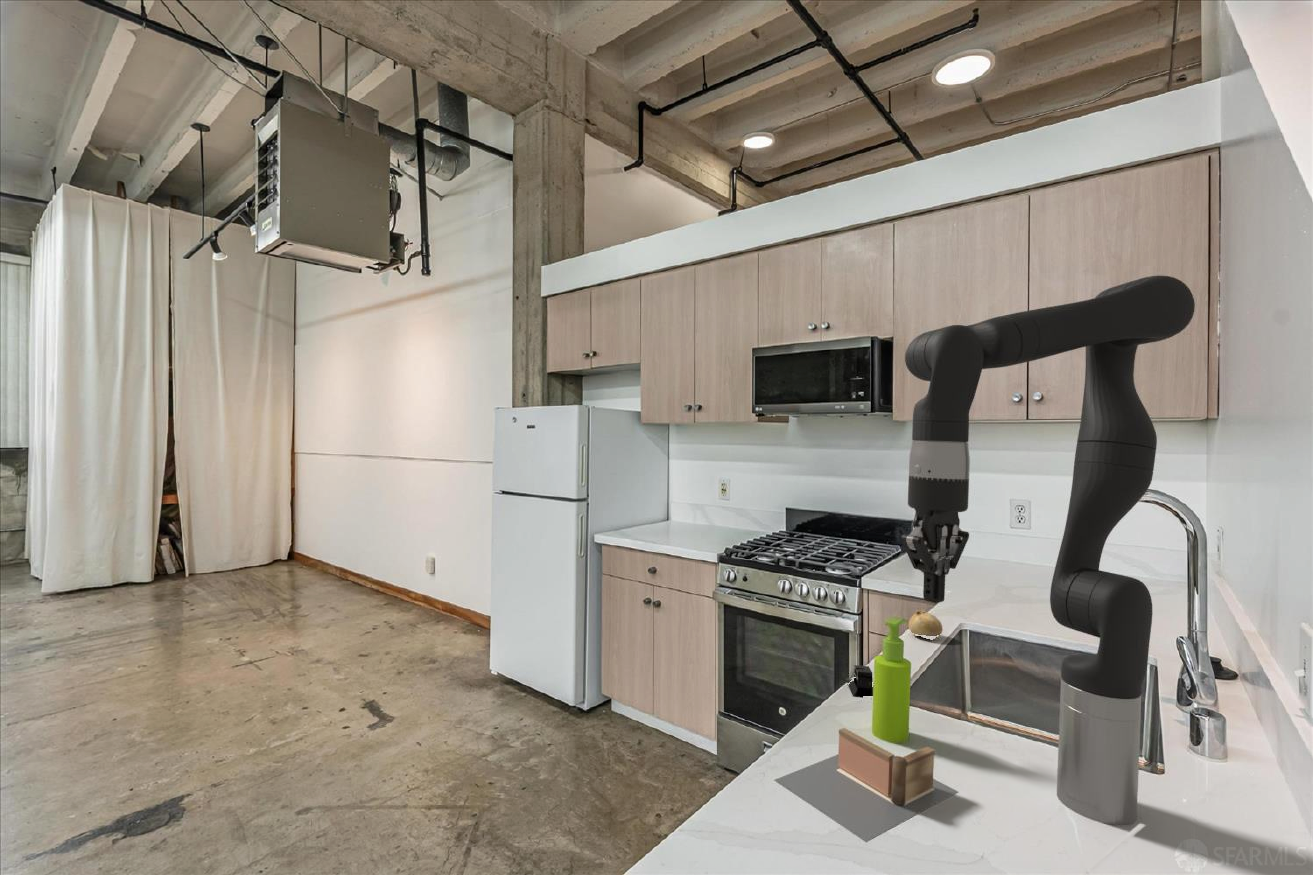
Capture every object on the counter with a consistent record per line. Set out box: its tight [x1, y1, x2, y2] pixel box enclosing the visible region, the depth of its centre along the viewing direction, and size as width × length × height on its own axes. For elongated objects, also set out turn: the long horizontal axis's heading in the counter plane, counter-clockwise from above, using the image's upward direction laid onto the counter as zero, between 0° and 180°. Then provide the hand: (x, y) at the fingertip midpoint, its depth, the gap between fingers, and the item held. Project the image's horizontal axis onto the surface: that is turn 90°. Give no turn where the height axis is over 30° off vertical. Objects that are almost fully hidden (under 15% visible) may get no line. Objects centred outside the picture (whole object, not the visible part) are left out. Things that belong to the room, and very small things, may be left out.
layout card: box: [773, 753, 959, 843], centre depth 90 cm, size 21×16×1 cm
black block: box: [844, 664, 874, 699], centre depth 126 cm, size 12×7×5 cm, turn 172°
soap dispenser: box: [871, 616, 912, 744], centre depth 106 cm, size 6×7×20 cm
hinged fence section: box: [837, 727, 895, 796], centre depth 91 cm, size 9×1×6 cm, turn 32°
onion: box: [908, 609, 943, 636], centre depth 160 cm, size 8×8×7 cm
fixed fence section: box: [891, 746, 936, 806], centre depth 88 cm, size 8×2×6 cm, turn 124°
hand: (933, 601), depth 84 cm, fingers closed
